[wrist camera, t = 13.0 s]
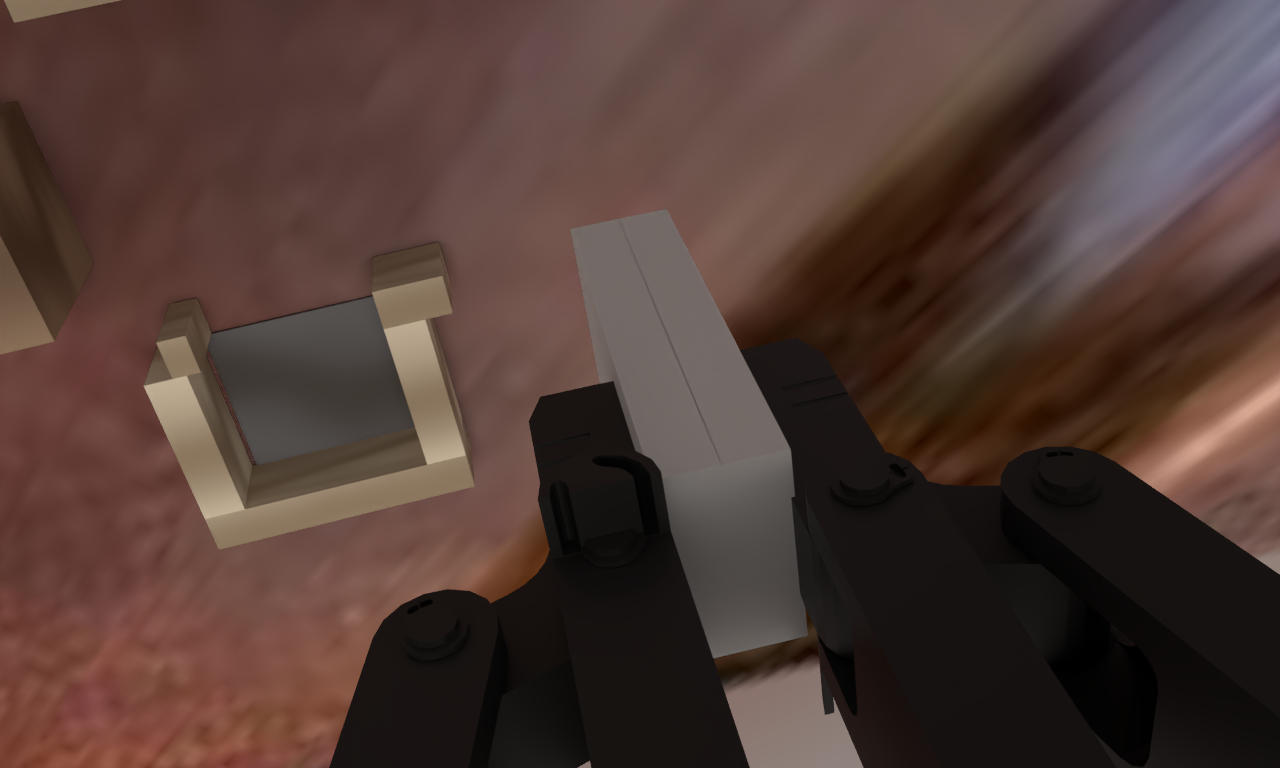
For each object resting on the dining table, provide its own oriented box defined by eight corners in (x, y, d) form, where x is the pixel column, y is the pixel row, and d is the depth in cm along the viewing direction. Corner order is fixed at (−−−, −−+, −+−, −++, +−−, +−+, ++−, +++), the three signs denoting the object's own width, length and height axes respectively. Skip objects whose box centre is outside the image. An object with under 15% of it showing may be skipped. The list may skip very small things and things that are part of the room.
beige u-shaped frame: (-15, -42, 36) (-45, -22, 34) (338, -115, 37) (335, -101, 34) (227, 503, 47) (219, 549, 45) (493, 438, 48) (500, 479, 46)
